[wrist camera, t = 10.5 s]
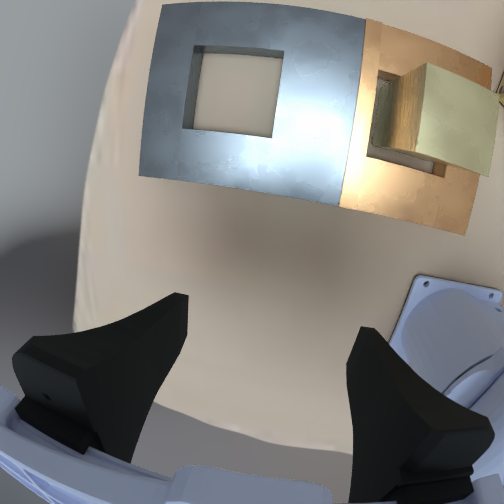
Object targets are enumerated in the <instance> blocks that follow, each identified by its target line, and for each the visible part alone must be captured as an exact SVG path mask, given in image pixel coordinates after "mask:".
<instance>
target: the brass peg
mask: <svg viewBox="0 0 504 504" xmlns="http://www.w3.org/2000/svg"><path fill="white" fill-rule="evenodd" d="M498 108H499V95H498V94H496V93H494V92H492V91H491V90H489V89H487V88H485V87H483V86H481V85H479V84H477V83H474V82H472V81H470V80H468V79H466V78H464V77H461V76H459V75H457V74H455V73H452V72H450V71H448V70H445V69H443V68H440V67H438V66H435V65H433V64H430V63H425V64H423V65H421V66H419V67H417V68H416V69H414V70H412V71H410V72H408V73H406V74H404V75H403V76H401V77H399V78H397V79H395V80H394V81H392V82H390V83H388V84H386V85H385V86H383V87H381V88H380V95H379V103H378V110H377V117H376V123H375V129H374V136H373V141H372V145H373V146H377V147H381V148H385V149H389V150H392V151H396V152H399V153H403V154H407V155H410V156H413V157H417V158H420V159H423V160H427V161H431V162H435V163H439V164H443V165H447V166H451V167H455V168H459V169H462V170H466V171H469V172H473V173H476V174H480V175H483V176H486V177H489V172H490V167H491V161H492V156H493V149H494V143H495V136H496V128H497V119H498Z"/></svg>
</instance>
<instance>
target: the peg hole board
mask: <svg viewBox="0 0 504 504" xmlns="http://www.w3.org/2000/svg"><path fill="white" fill-rule="evenodd" d="M203 53H227V54H243V55H256V56H266V57H275V58H283V66H282V73H281V80H280V87H279V94H278V100H277V107H276V114H275V121H274V128H273V135H272V138H267V137H260V136H252V135H245V134H236V133H227V132H218V131H208V130H196V129H193V120H194V112H195V105H196V97H197V90H198V83H199V77H200V70H201V64H202V58H203ZM425 63H430V64H433V65H435V66H438V67H440V68H443V69H445V70H448V71H450V72H452V73H455V74H457V75H459V76H461V77H464V78H466V79H468V80H470V81H472V82H474V83H477V84H479V85H481V86H483V87H485V88H487V89H489V90H491V75H492V68H491V67H489V66H487V65H485V64H483V63H481V62H479V61H477V60H475V59H473V58H471V57H469V56H467V55H465V54H462V53H460V52H458V51H456V50H453V49H451V48H449V47H446V46H444V45H442V44H439V43H437V42H434V41H432V40H429V39H426V38H424V37H421V36H418V35H415V34H413V33H410V32H407V31H404V30H401V29H397V28H394V27H391V26H388V25H384V24H382V23H381V22H378V21H374V20H370V19H367V18H366V19H362V18H357V17H353V16H349V15H344V14H339V13H334V12H329V11H323V10H318V9H311V8H304V7H297V6H289V5H279V4H268V3H253V2H191V3H176V4H165V5H162V9H161V14H160V18H159V23H158V28H157V33H156V38H155V43H154V49H153V54H152V60H151V66H150V72H149V79H148V86H147V93H146V101H145V109H144V118H143V128H142V138H141V150H140V164H139V176H146V177H155V178H164V179H172V180H180V181H188V182H196V183H204V184H211V185H218V186H225V187H232V188H239V189H245V190H251V191H258V192H264V193H270V194H276V195H282V196H288V197H293V198H299V199H304V200H310V201H315V202H320V203H326V204H331V205H336V206H339V207H343V208H347V209H352V210H360V211H365V212H370V213H374V214H379V215H383V216H388V217H392V218H396V219H401V220H405V221H409V222H413V223H418V224H422V225H426V226H430V227H434V228H438V229H442V230H445V231H449V232H453V233H457V234H461V235H464V236H465V233H466V229H467V226H468V222H469V218H470V215H471V211H472V207H473V203H474V199H475V195H476V190H477V186H478V181H479V176H480V174H476V173H473V172H469V171H466V170H462V169H459V168H455V167H451V166H447V165H443V164H439V163H434V168H433V173H432V174H430V173H427V172H423V171H420V170H417V169H413V168H410V167H406V166H402V165H399V164H395V163H391V162H387V161H383V160H379V159H375V158H371V157H367V156H366V152H367V146H368V140H369V134H370V128H371V121H372V115H373V108H374V100H375V93H376V85H377V77H379V78H382V79H386V80H389V81H394V80H395V79H397V78H399V77H401V76H403V75H404V74H406V73H408V72H410V71H412V70H414V69H416V68H417V67H419V66H421V65H423V64H425Z"/></svg>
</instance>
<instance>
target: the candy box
mask: <svg viewBox="0 0 504 504" xmlns="http://www.w3.org/2000/svg"><path fill="white" fill-rule="evenodd" d="M496 94H498V95H499V101H500V102H501V103H502V104H503V105H504V75H503V78H502V80H501V83H500V86H499V88H498V90H497V93H496Z"/></svg>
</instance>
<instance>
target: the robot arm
mask: <svg viewBox="0 0 504 504" xmlns="http://www.w3.org/2000/svg"><path fill="white" fill-rule="evenodd" d="M425 281H428V283H427V284H426V285H423V284H424V282H425ZM490 294H491V295H490ZM489 295H490V296H489ZM502 296H503V293H502V292H501V291H500V290H497V289H492V288H487V287H481V286H476V285H471V284H466V283H461V282H455V281H450V280H445V279H440V278H434V277H429V276H424V275H419V276H417V277H416V278H415V279H414V281H413V284H412V287H411V290H410V292H409V295H408V298H407V300H406V303H405V306H404V308H403V311H402V313H401V316H400V318H399V321H398V323H397V326H396V328H395V330H394V333H393V335H392V337H391V340H390V342H389V344H388V342H387V341H386V340H385V339H384V338H383V337H382V336H381V335H380V333H379V332H378V331H377V330H376V329H375V328H369V327H362V326H361V327H360V330H359V333H358V335H357V338H356V341H355V343H354V346H353V348H352V351H351V353H350V356H349V358H348V361H347V363H346V376H347V390H348V397H349V403H350V410H351V417H352V425H353V466H352V478H351V488H350V496H349V502H348V503H332V492H331V491H330V490H328V489H326V488H325V487H324V486H322V485H320V484H317V483H312V482H306V481H298V480H289V479H280V478H272V477H265V476H259V475H253V474H246V473H241V472H235V471H231V470H226V469H221V468H216V467H211V466H203V465H190V466H183V467H180V468H178V470H177V471H176V473H175V475H174V477H173V478H171V477H168V476H164V475H161V474H158V473H155V472H152V471H149V470H146V469H143V468H141V467H138V466H135V465H132V464H130V463H131V460H132V457H133V453H134V450H135V447H136V444H137V442H138V439H139V436H140V433H141V430H142V427H143V425H144V422H145V420H146V417H147V415H148V412H149V410H150V407H151V405H152V403H153V400H154V398H155V396H156V394H157V392H158V390H159V388H160V387H161V385H162V383H163V382H164V380H165V378H166V376H167V375H168V373H169V371H170V370H171V368H172V366H173V364H174V363H175V361H176V359H177V357H178V356H179V354H180V352H181V349H182V347H183V344H184V342H185V339H186V337H187V327H188V298H189V295H185V294H180V293H176V292H175V293H173V294H171V295H169V296H167V297H165V298H163V299H161V300H160V301H158V302H156V303H154V304H152V305H150V306H148V307H147V308H145V309H143V310H141V311H139V312H137V313H134V314H132V315H130V316H128V317H126V318H124V319H121V320H119V321H116V322H114V323H111V324H108V325H105V326H102V327H98V328H94V329H90V330H86V331H82V332H76V333H71V334H63V335H52V336H33V337H32V338H31V339H30V340H28V341H27V342H26V343H25V344H24V345H23V346H22V347H21V348H20V349H19V350H18V351H17V352H16V353H15V354H14V355H13V357H12V363H13V369H14V372H15V374H16V376H17V379H18V381H19V383H20V385H21V387H22V390H23V392H24V394H25V397H24V398H23V399H22V400H21V401H20V399H19V398H18V397H17V396H16V395H15V394H13V393H12V392H10V391H9V390H7V389H6V388H5V387H3V386H2V385H0V467H2V468H3V469H4V470H5V471H7V472H8V473H9V474H11V475H12V476H13V477H14V478H16V479H17V480H18V481H20V482H21V483H22V484H24V485H25V486H26V487H28V488H29V489H30V490H32V491H33V492H35V493H36V494H37V495H39V496H40V497H42V498H43V499H45V500H46V501H48V502H49V503H51V504H504V308H503V307H502V306H501V305H500V304H499V303H500V301H501V299H502ZM407 363H409V364H410V366H411V367H410V366H409V365H408V364H407Z"/></svg>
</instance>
